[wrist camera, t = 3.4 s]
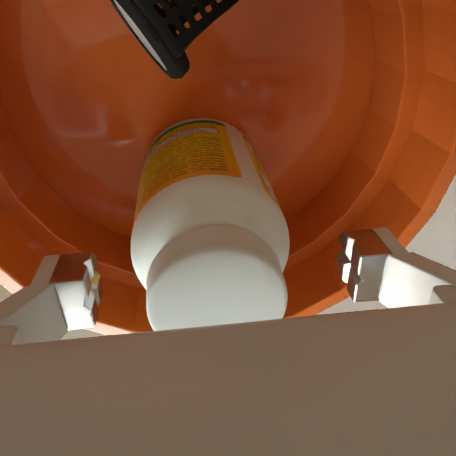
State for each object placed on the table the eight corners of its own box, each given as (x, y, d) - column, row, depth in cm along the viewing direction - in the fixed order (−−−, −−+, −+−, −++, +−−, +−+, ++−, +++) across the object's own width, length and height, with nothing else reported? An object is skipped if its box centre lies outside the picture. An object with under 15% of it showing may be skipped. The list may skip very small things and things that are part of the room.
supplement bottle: (279, 152, 20) (353, 278, 12) (217, 236, 22) (245, 393, 14) (179, 89, 18) (185, 190, 10) (121, 188, 20) (87, 339, 12)
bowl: (34, 277, 22) (-5, 367, 17) (-125, -195, 13) (-318, -303, 8) (366, 247, 24) (419, 321, 19) (443, -196, 14) (591, -286, 9)
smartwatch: (104, -44, 15) (78, -49, 11) (243, -80, 15) (272, -99, 11) (140, 72, 17) (130, 106, 13) (262, 42, 17) (292, 66, 13)
